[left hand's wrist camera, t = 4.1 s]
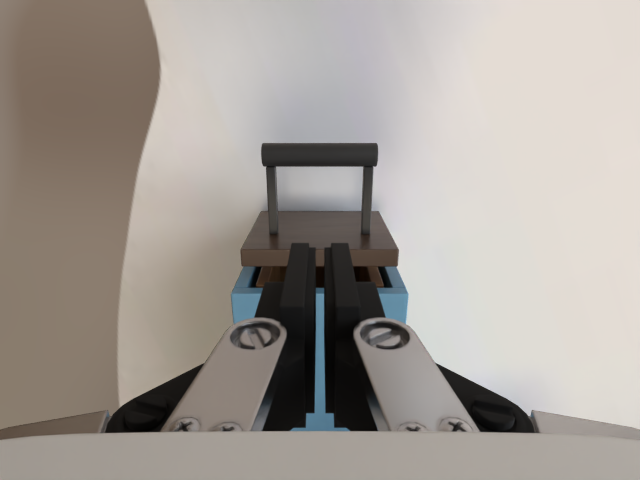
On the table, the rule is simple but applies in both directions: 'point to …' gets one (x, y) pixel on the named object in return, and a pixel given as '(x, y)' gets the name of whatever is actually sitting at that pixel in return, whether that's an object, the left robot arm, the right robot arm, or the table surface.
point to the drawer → (319, 217)
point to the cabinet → (319, 328)
